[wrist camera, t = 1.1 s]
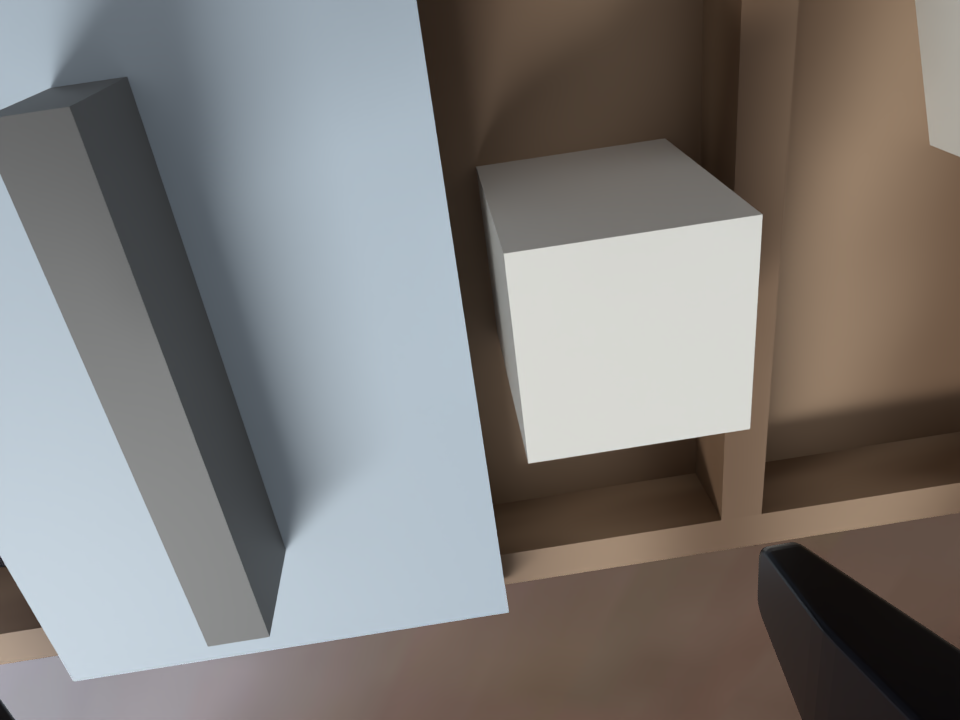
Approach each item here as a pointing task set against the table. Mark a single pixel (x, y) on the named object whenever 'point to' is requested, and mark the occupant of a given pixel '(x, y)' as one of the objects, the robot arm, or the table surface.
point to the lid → (231, 333)
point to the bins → (782, 275)
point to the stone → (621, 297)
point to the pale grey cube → (941, 70)
